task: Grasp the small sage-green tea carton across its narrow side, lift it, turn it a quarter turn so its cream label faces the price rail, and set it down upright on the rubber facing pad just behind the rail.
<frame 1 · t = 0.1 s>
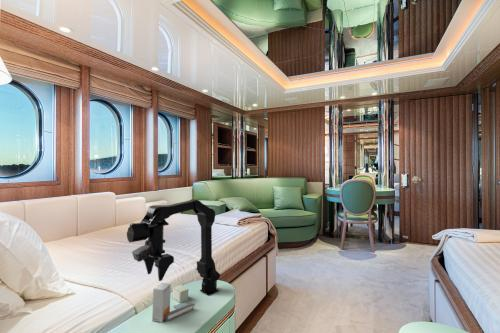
hand: (154, 277, 102), 15 cm above the table, fingers open, 9 cm apart
price rail: (179, 314, 101), on the table
facing pad: (184, 305, 108), on the table
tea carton: (180, 299, 114), on the table
skincare box: (161, 318, 99), on the table
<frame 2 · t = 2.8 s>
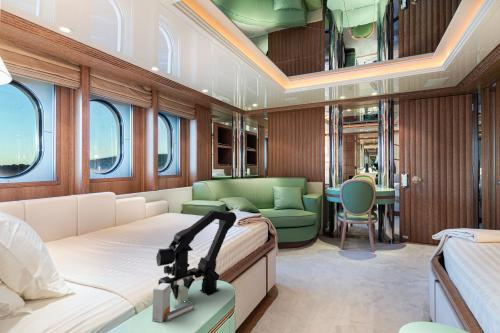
hand: (180, 297, 114), 1 cm above the table, fingers closed on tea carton, 4 cm apart
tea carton: (180, 299, 114), on the table, touching gripper
everything else where it was.
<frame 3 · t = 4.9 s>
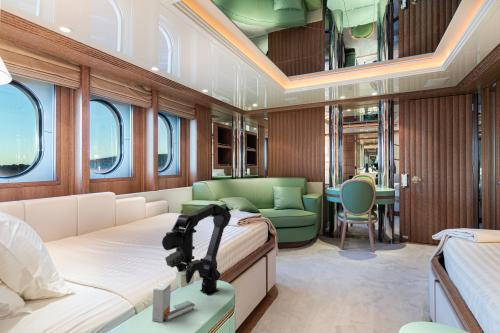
hand: (184, 281, 108), 10 cm above the table, fingers closed on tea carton, 4 cm apart
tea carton: (184, 284, 108), point 9 cm above the table, touching gripper
everything else where it was.
when the fingers open (2 cm above the table, at t = 6.9 s): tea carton stays where it is, resting on facing pad.
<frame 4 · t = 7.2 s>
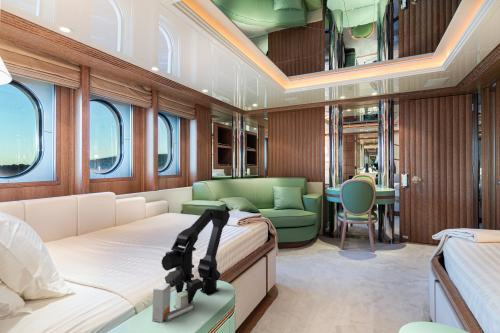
hand: (184, 300, 108), 2 cm above the table, fingers open, 7 cm apart
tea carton: (184, 305, 108), resting on facing pad
everything else where it was.
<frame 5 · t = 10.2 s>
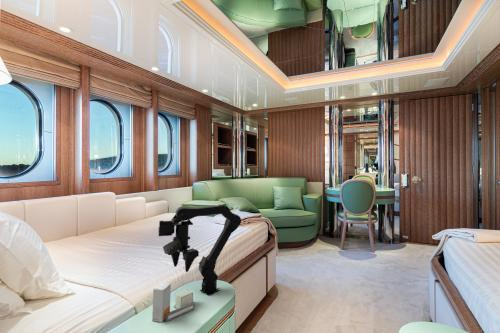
hand: (181, 269, 117), 12 cm above the table, fingers open, 9 cm apart
nothing on the table moved.
at the end: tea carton inside the target area (0.1 cm from its centre), resting on facing pad; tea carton tilted 0°; the gripper is holding nothing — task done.
